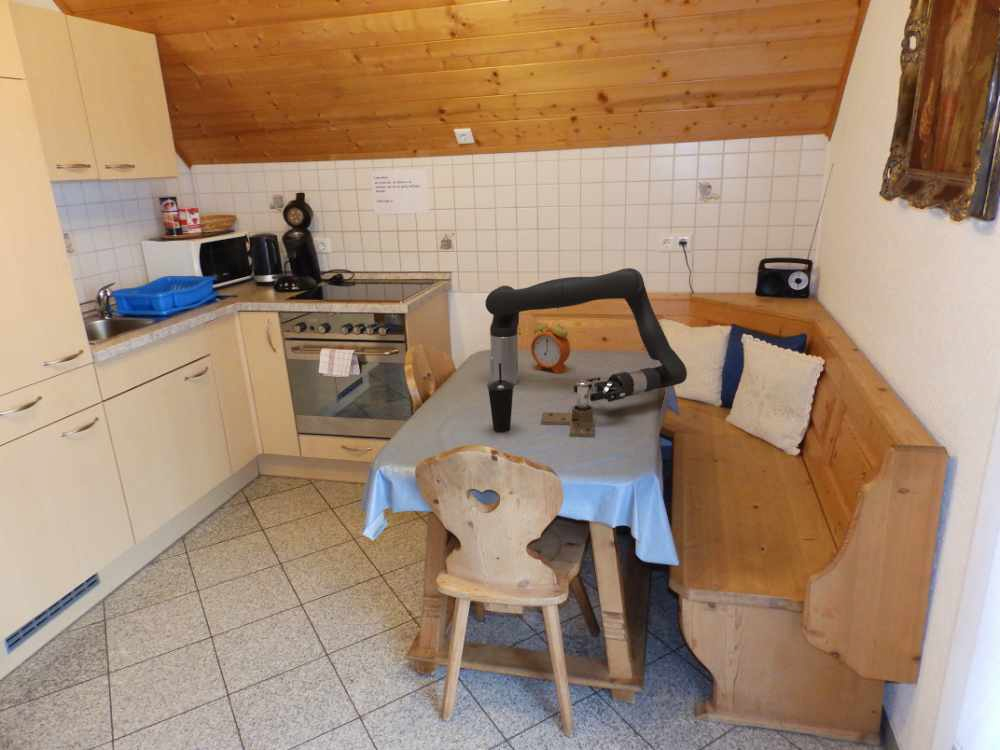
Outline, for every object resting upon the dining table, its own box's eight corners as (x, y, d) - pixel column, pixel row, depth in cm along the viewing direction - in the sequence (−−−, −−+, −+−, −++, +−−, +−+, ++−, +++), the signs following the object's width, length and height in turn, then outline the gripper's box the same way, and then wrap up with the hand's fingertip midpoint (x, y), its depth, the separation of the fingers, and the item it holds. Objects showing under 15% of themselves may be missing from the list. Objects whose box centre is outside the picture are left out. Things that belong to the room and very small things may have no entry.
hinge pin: (576, 422, 198) (576, 384, 194) (576, 417, 202) (576, 379, 198) (589, 423, 197) (589, 384, 194) (589, 418, 201) (589, 380, 197)
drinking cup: (506, 436, 190) (504, 369, 184) (483, 431, 194) (481, 365, 187) (520, 427, 196) (518, 361, 190) (497, 422, 200) (495, 358, 194)
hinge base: (539, 435, 190) (538, 422, 188) (542, 415, 204) (542, 403, 203) (594, 437, 188) (594, 423, 186) (594, 416, 202) (594, 403, 201)
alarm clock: (530, 369, 247) (529, 316, 241) (539, 365, 252) (538, 312, 246) (562, 375, 240) (562, 320, 234) (570, 370, 245) (570, 316, 239)
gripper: (613, 365, 208) (569, 374, 201) (643, 378, 196) (596, 388, 189) (613, 388, 211) (569, 398, 204) (642, 402, 198) (596, 413, 192)
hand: (582, 393), depth 197 cm, fingers open, 8 cm apart
